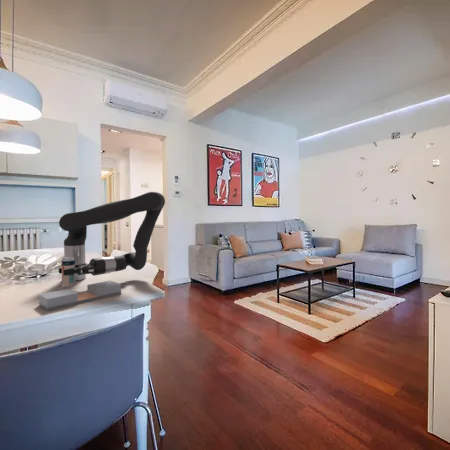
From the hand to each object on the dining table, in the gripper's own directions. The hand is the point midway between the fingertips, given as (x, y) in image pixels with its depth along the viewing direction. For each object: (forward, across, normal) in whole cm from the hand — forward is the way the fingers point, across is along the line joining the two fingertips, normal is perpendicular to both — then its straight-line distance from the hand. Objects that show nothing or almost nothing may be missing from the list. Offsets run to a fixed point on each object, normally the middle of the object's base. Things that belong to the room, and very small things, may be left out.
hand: (61, 271), depth 109 cm
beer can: (-3, 0, +7) cm, 7 cm away
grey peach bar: (-3, +14, +9) cm, 17 cm away
